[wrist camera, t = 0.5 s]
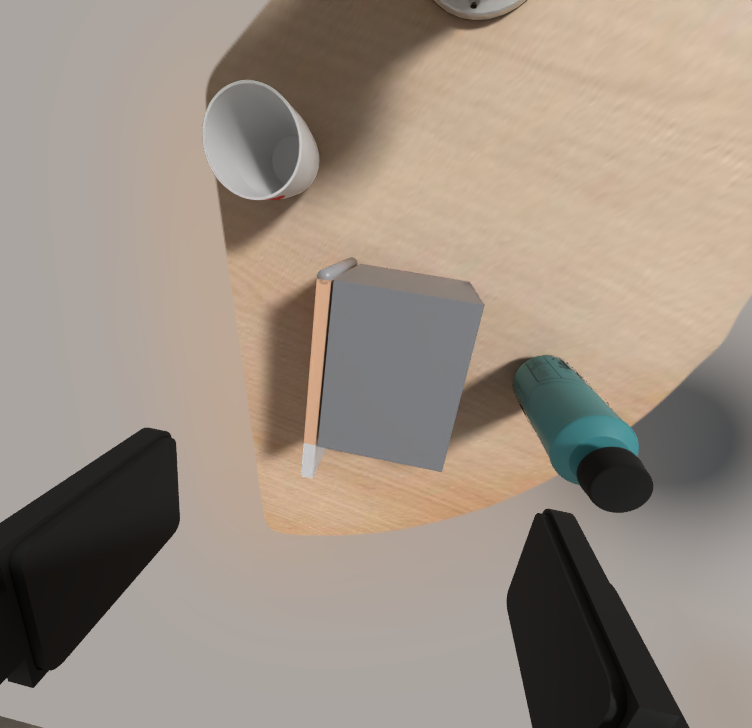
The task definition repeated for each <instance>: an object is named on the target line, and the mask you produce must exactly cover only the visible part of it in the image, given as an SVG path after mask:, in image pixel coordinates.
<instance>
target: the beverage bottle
mask: <svg viewBox="0 0 752 728" xmlns="http://www.w3.org/2000/svg"><path fill="white" fill-rule="evenodd" d="M561 359H562V358H561ZM561 359H560V358H557V356H556V357H553V356H552V355H550V356H547V355H546V356H545V355H543V356H537V357H534V358H531V359H529V360H527V361H526V362H524V363H523V364H522V365H521V366H520V367H519V369H518V370H517V372H516V374H515V378H514V379H513V380H514V384H513V387H514V388H513V389H514V390H515V392H514V393H516V396H517V397H518V399H517V400H519V401H520V403H519V404H521V405H522V406H521V405H520V406H521V408H522V410H523V409H524V410H523V412H524V411H525V412H524V414H525V413H526V414H525V415H527V416H526V417H528V419H529V420H530V422H531V423H530V424H532V426H533V428H534V430H535V432H536V433H537V435H538V437H539V439H540V441H541V443H542V445H543V446H544V448H545V450H546V452H547V454H548V456H549V458H550V462H551V464H552V466H553V468H554V469H555V471H556V472H557V473H558V474H559V475H560V476H561V477H563V478H564V479H566V480H567V481H569V482H572V483H574V484H578V485H580V486H581V487H582V489H583V490H584V491H585V493H586V494H587V495H588V496H589V498H590V499H591V501H592V502H593V503H594V504H595V505H596V506H598V507H599V508H601V509H603V510H605V511H609V512H614V513H615V512H616V513H623V512H628V511H631V510H635V509H637V508H639V507H641V506H642V505H643V504H644V503H646V501H647V500H648V499H649V498H650V496H651V494H652V492H653V481H652V479H651V476H650V475H649V473H648V472H647V470H646V469H645V468H644V465H643V464H642V462H641V461H640V460H639V458H638V457H637V456H638V451H639V446H638V439H637V436H636V435H635V433H634V431H633V430H632V428H631V427H630V426H629V425H628V424H627V423H625V422H624V421H623V420H621V419H620V418H619V416H618V415H617V414H616V413H615V412H614V411H613V410H612V409H611V408H610V407H609V405H607V404H606V403H605V402H604V401H603V400H602V399H601V398H600V397H599V396H598V395H597V394H596V393H595V392H594V391H593V390H592V388H590V386H588V385H587V384H586V383H587V382H586V383H585V382H584V381H585V380H583V379H582V377H580V376H579V374H578V373H577V372H576V373H577V374H576V373H575V372H574V371H575V370H574V371H573V370H572V369H571V368H570V367H569V366H568V365H567V364H568V363H567V362H566V363H567V364H566V363H565V362H564V361H563V360H564V359H563V360H561ZM519 401H518V402H519ZM607 403H608V402H607ZM532 426H531V427H532ZM535 432H534V433H535Z"/></svg>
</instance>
